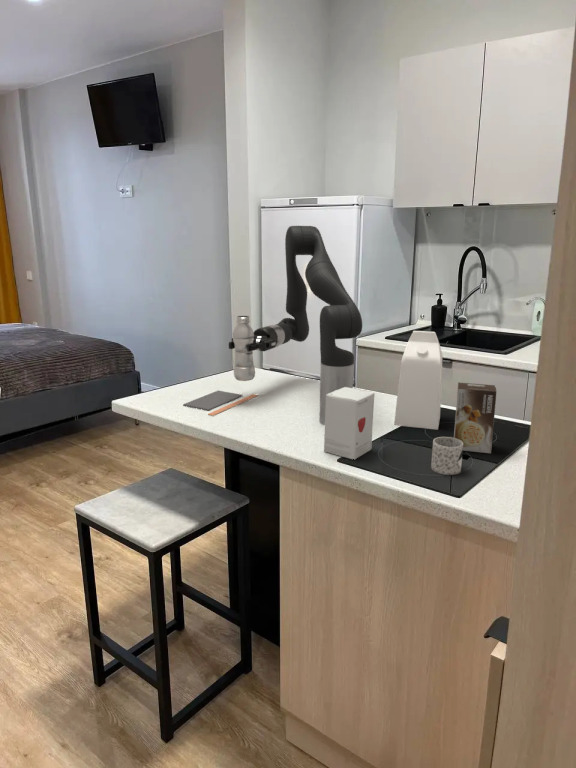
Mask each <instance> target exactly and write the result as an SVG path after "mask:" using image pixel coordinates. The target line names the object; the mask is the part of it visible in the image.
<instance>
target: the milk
mask: <svg viewBox="0 0 576 768" xmlns="http://www.w3.org/2000/svg"><path fill="white" fill-rule="evenodd" d="M399 370H400V371H399V378H398V379H399V380H398V388H397V396H396V405H395V413H394V414H395V415H394V422H393V423H394V426H401V427H409V428H410V427H411V428H418V429H419V428H420V429H428V430H437V431H438V430H439V425H440V419H441V406H442V405H441V403H442V382H443V381H442V380H443V379H442V377H443V352H442V348H441V345H440V341H439V339H438V336H437V333H436V332H435V331H422V330H413V331H412V333H411V335H410V337H409V339H408V341H407V344H406V347H405V349H404V352H403V354H402V357H401V362H400V369H399Z"/></svg>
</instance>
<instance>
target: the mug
mask: <svg viewBox="0 0 576 768" xmlns="http://www.w3.org/2000/svg"><path fill="white" fill-rule="evenodd" d="M430 462H431V464H430V469H431V470H432V471H433V472H435V473H438V474H439V475H440V474H441V475H445V476H454V475H455V476H456V475H458V474H461V472H462V462H463V442H462V441H461V440H459V439H456V438H454V437H452V436H439V437H435V438H434V439H433V441H432V450H431V461H430Z"/></svg>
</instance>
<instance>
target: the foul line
mask: <svg viewBox="0 0 576 768" xmlns="http://www.w3.org/2000/svg"><path fill="white" fill-rule="evenodd" d="M258 396H259V395H258V394H256V393H255V394H253V393H252V394H249V395H248V396H246V397H243V398H241V399H237V400H236V401H234V402H231V403H230V404H229V403H228V404H226V405H224V406H223V407H221V408H218V409H216V410H213V411H210V412H209V413H208V414H207V415H208V416H212V417H215V416H216V415H218V414H221V413H223V412H225V411H228V410H229V409H232V408H234V407H237V406H239V405H241V404H243V403H245V402H248V401H249V400H252V399H254V398H256V397H258ZM236 405H237V406H236ZM227 409H228V410H227Z"/></svg>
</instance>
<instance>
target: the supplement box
mask: <svg viewBox="0 0 576 768" xmlns="http://www.w3.org/2000/svg"><path fill="white" fill-rule="evenodd" d="M374 405H375V392H371V391H368V390H362V389H359V388H358V389H357V388H354V387H353V388H348V387H344V388H341V389H339V390H335V391H334V392H331V393H329V394H326V407H325V425H324V434H323V435H324V437H323V438H324V440H323V452H326V453H329V454H333V455H335V456H336V455H337V456H340V457H343V458H346V459H350V460H353V459H354V461H355V460H356V459H357V458H360V457H361V456H363V455H365V454H366V453H367V452H369V451H371V450H372V448H373V447H372V445H373V443H372V442H373V428H374V409H375V407H374Z"/></svg>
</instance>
